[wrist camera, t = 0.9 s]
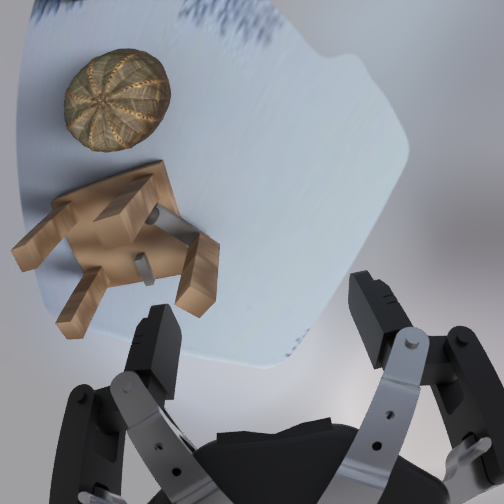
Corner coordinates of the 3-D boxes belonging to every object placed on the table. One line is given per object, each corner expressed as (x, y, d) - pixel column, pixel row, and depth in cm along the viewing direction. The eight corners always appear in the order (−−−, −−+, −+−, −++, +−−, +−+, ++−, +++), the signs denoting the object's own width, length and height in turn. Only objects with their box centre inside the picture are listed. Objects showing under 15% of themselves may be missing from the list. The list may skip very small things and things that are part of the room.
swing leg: (141, 214, 35) (109, 266, 25) (152, 196, 34) (121, 244, 24) (207, 256, 39) (199, 318, 29) (220, 241, 38) (215, 301, 28)
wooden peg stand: (57, 196, 35) (2, 244, 23) (163, 159, 34) (125, 200, 22) (97, 282, 43) (66, 344, 31) (196, 263, 42) (184, 334, 30)
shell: (121, 153, 33) (78, 182, 23) (87, 85, 27) (32, 90, 17) (195, 113, 31) (175, 123, 21) (159, 39, 26) (124, 19, 15)
